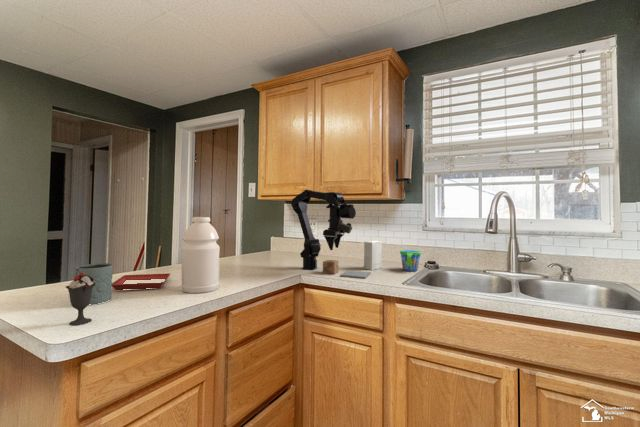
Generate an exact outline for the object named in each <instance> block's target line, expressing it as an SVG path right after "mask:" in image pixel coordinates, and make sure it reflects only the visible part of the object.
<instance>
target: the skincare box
mask: <svg viewBox="0 0 640 427" xmlns="http://www.w3.org/2000/svg"><path fill="white" fill-rule="evenodd" d="M363 245H364V246H363V247H364V248H363V249H364V250H363V255H364V256H363V258H364V259H363V268H364V269H365V270H367V271H368V270H369V271H374V270H379V269H382V268H383V267H382V263H383V262H382V261H383V260H382V259H383V256H382V254H383V241H380V240H368V241H364V244H363Z"/></svg>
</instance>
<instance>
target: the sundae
mask: <svg viewBox="0 0 640 427" xmlns="http://www.w3.org/2000/svg"><path fill="white" fill-rule="evenodd" d="M76 270H77V271H78V269H76V268H75V273H76V274H75V276H74V277H73V279H72V281H71V282H70V283H69V285H66V286H65V288H66V289H67V290H68V295H69V301H70V305H71V307H72V308H74V309H75V310H77V318H76V319H74V320H72V321H70V322H69V323H68V324H69V325H70V326H80V324H82V325H86V324H89V323H91V322H92V321H93V319H91V317H90V318H88V317H85V314H84V310H85V309H86V308H87V307H88V306H90V305H89V303H90V300H91V294H92V288H93V287H94V286H95V284H96V283H93V280H94V279H93V278H92V277H90V276H87V275H85V274H84V273H81V274H80V275H79V276H77V272H76ZM78 272H79V271H78ZM79 273H80V272H79ZM88 322H89V323H88ZM85 323H86V324H85Z"/></svg>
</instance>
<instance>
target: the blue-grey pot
mask: <svg viewBox="0 0 640 427" xmlns="http://www.w3.org/2000/svg"><path fill="white" fill-rule="evenodd" d="M76 269H78V271H79V272H80V273H79V272H78V271H77V270H76ZM113 271H114V264H113V263H108V262H107V263H102V262H101V263H91V264H84V265H79V266H75V273H76V272H77V276H79V275H80V274H81V273H84V274H85V275H87V276H90V277H92V278H93V279H94V280H93V283H96V284H95V286H94V287H93V288H92V294H91V300H90V303H89V304H97V305H99V304H98V303H102V302H106V301H108V300H110V299H111V300H112V291H113V290H112V283H113V282H112V280H113ZM111 300H110V301H111ZM106 303H107V302H106ZM102 304H103V303H102Z"/></svg>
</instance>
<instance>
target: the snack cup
mask: <svg viewBox="0 0 640 427" xmlns="http://www.w3.org/2000/svg"><path fill="white" fill-rule="evenodd" d="M399 254H400V258H401V265H402V269H403V271H406V272H417V271H418V270H419V264H420V257H421V255H422V252H421V251H420V250H414V249H403V250H399Z"/></svg>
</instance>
